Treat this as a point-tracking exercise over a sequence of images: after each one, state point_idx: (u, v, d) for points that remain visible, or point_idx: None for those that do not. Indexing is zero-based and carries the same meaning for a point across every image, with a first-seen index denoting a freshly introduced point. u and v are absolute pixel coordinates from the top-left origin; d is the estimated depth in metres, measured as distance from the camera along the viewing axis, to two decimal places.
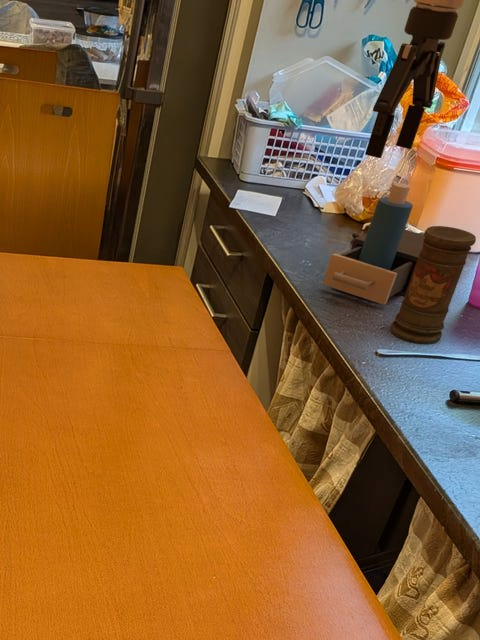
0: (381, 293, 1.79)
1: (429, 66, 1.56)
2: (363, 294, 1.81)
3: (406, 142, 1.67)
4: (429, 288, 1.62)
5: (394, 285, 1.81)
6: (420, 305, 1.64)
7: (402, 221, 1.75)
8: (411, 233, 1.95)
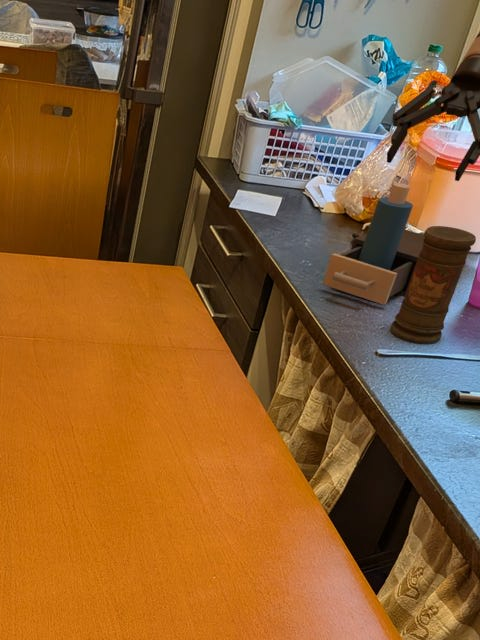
0: (381, 293, 1.79)
1: (468, 103, 1.76)
2: (363, 294, 1.81)
3: None
4: (429, 288, 1.62)
5: (394, 285, 1.81)
6: (420, 305, 1.64)
7: (402, 221, 1.75)
8: (411, 233, 1.95)
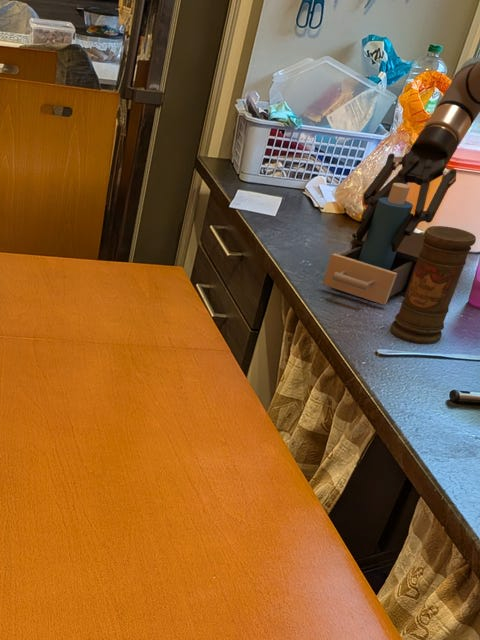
0: (381, 293, 1.79)
1: (423, 171, 1.76)
2: (363, 294, 1.81)
3: None
4: (429, 288, 1.62)
5: (394, 285, 1.81)
6: (420, 305, 1.64)
7: (402, 221, 1.75)
8: None
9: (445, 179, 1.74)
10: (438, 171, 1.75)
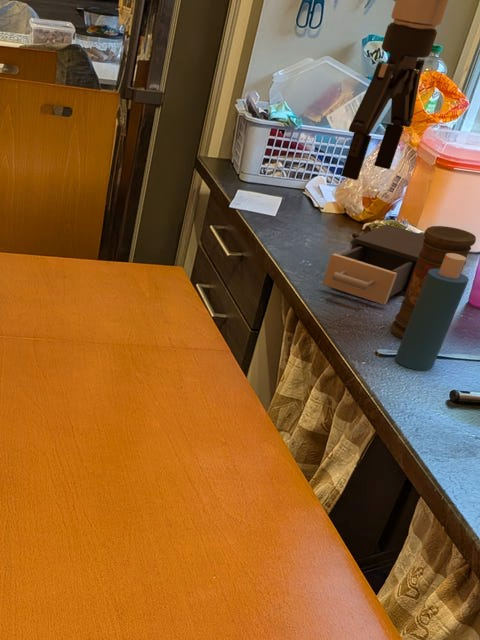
0: (381, 293, 1.79)
1: (407, 84, 1.50)
2: (363, 294, 1.81)
3: (384, 162, 1.61)
4: None
5: (394, 285, 1.81)
6: None
7: (456, 297, 1.51)
8: (411, 233, 1.95)
9: (418, 76, 1.52)
10: None
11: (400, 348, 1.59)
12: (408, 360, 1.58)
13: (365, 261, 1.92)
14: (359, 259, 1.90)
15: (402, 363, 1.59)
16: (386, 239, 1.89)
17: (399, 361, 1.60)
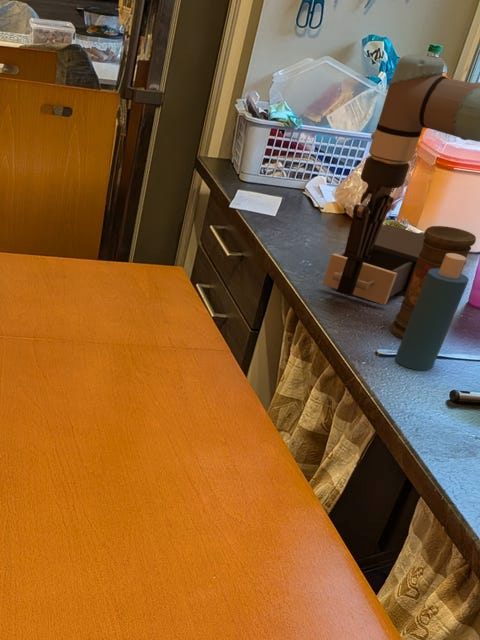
0: (381, 293, 1.79)
1: (382, 209, 1.68)
2: (363, 294, 1.81)
3: None
4: None
5: (394, 285, 1.81)
6: None
7: (456, 297, 1.51)
8: (411, 233, 1.95)
9: (387, 210, 1.71)
10: None
11: (400, 348, 1.59)
12: (408, 360, 1.58)
13: (365, 261, 1.92)
14: None
15: (402, 363, 1.59)
16: (386, 239, 1.89)
17: (399, 361, 1.60)
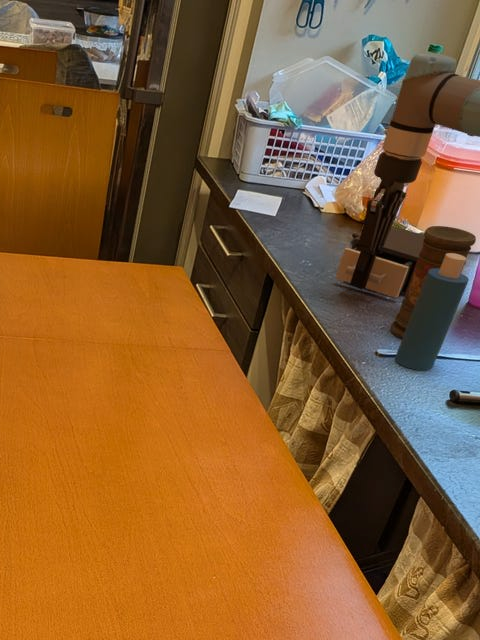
0: (393, 286, 1.82)
1: (394, 203, 1.72)
2: (375, 288, 1.85)
3: None
4: None
5: (406, 279, 1.85)
6: None
7: (456, 297, 1.51)
8: (411, 233, 1.95)
9: (399, 205, 1.75)
10: None
11: (400, 348, 1.59)
12: (408, 360, 1.58)
13: (376, 255, 1.96)
14: None
15: (402, 363, 1.59)
16: (386, 239, 1.89)
17: (399, 361, 1.60)
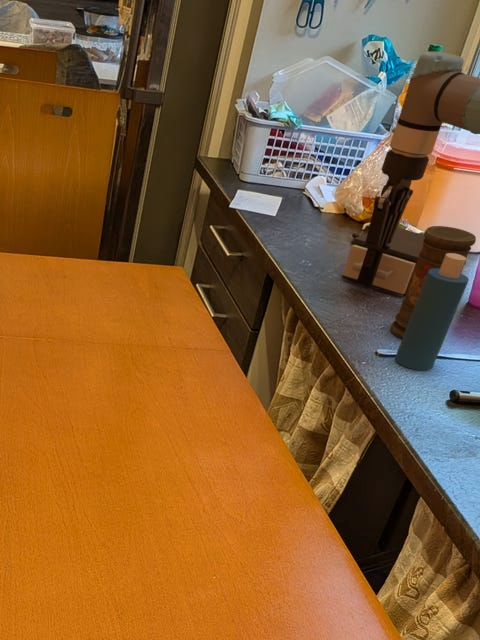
0: (400, 283, 1.84)
1: (401, 200, 1.74)
2: (382, 284, 1.87)
3: None
4: None
5: None
6: None
7: (456, 297, 1.51)
8: (411, 233, 1.95)
9: (406, 202, 1.77)
10: None
11: (400, 348, 1.59)
12: (408, 360, 1.58)
13: (383, 252, 1.98)
14: None
15: (402, 363, 1.59)
16: None
17: (399, 361, 1.60)
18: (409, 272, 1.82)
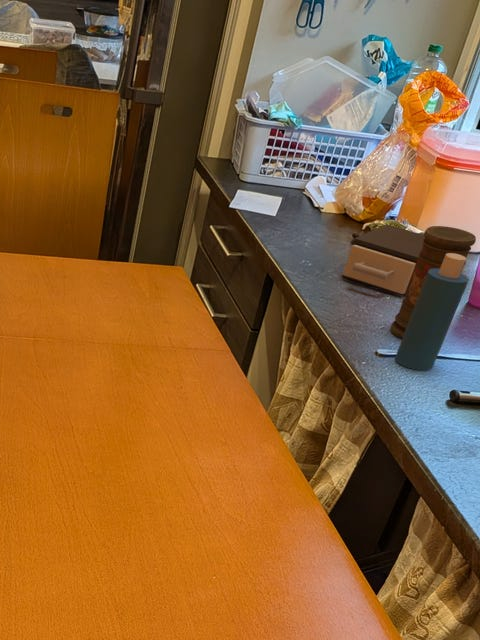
0: (400, 283, 1.85)
1: None
2: (382, 284, 1.87)
3: None
4: None
5: None
6: None
7: (456, 297, 1.51)
8: (411, 233, 1.95)
9: None
10: None
11: (400, 348, 1.59)
12: (408, 360, 1.58)
13: (383, 252, 1.98)
14: (377, 250, 1.96)
15: (402, 363, 1.59)
16: (386, 239, 1.89)
17: (399, 361, 1.60)
18: (409, 272, 1.83)
